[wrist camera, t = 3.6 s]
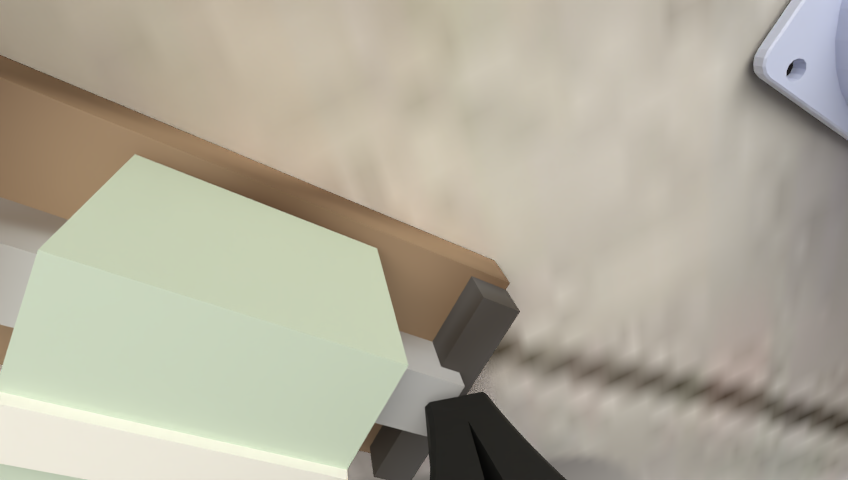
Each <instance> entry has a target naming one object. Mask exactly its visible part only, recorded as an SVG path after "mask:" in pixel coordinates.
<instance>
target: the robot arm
mask: <svg viewBox="0 0 848 480" xmlns="http://www.w3.org/2000/svg"><path fill="white" fill-rule="evenodd" d="M792 62H793V68H792V70H791V72H790V74H789V75H788V76H787V69H788V67H789V65H790V64H791V63H792ZM753 67H754V72H755V74H756V75H757V76H758V77H759V78H760V79H762V80H763V81H764V82H766V83H767V84H769V85H770V86H771V87H773V88H774V89H776V90H777V91H778V92H780V93H781V94H783V95H784V96H786V97H787V98H788V99H790V100H791V101H793V102H794V103H795V104H797V105H798V106H800V107H801V108H802V109H804V110H805V111H807V112H808V113H809V114H811V115H812V116H814V117H815V118H817V119H818V120H819V121H821V122H822V123H824V124H825V125H826V126H828V127H829V128H831V129H832V130H833V131H835V132H836V133H838V134H839V135H840V136H842V137H843V138H845V139H846V140H848V0H791V2H790V3H789V4H788V6H787V7H786V9H785V10H784V12H783V13H782V15H781V16H780V18H779V19H778V21H777V22H776V24H775V25H774V26H773V28H772V29H771V31H770V32H769V34H768V35H767V37H766V38H765V40H764V41H763V43H762V44H761V46H760V47H759V48H758V50H757V52H756V55H755V57H754V62H753ZM425 416H426V427H427V437H428V448H429V459H430V480H566V479H565V478H564V477H563V476H562V475H561V474H560V473H559V472H558V471H557V470H556V469H555V468H554V467H552V466H551V465H550V464H549V463H548V462H547V461H546V460H545V459H544V458H543V457H542V456H541V455H540V454H539V453H538V452H537V451H536V450H535V449H534V448H533V447H532V446H531V445H530V444H529V443H528V441H527V440H526V439H525V438H524V437H523V436H522V435H521V434H520V433H519V432H518V431H517V430H516V429H515V427H514V426H513V425H512V424H511V423H510V422H509V421H508V420H507V418H506V417H505V416H504V415H503V414H502V413H501V411H500V410H499V409H498V408H497V407H496V405H495V404H494V403H493V402H492V401H491V399H490V398H489V397H488V395H486V394H485V393H483V392H479V393H474V394H469V395H463V396H458V397H453V398H448V399H443V400H438V401H433V402H429V403H428V404H427V405H426V406H425Z"/></svg>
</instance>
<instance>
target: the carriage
mask: <svg viewBox="0 0 848 480" xmlns="http://www.w3.org/2000/svg"><path fill="white" fill-rule="evenodd" d="M407 367H408V362H407V358H406V354H405V350H404V347H403V343H402V339H401V336H400V332H399V328H398V324H397V321H396V317H395V313H394V309H393V306H392V302H391V298H390V295H389V291H388V287H387V283H386V280H385V276H384V272H383V269H382V265H381V261H380V257H379V254H378V250H377V248H375V247H372V246H370V245H367V244H365V243H362V242H359V241H357V240H354V239H352V238H349V237H347V236H344V235H342V234H339V233H336V232H334V231H331V230H329V229H326V228H324V227H321V226H318V225H316V224H313V223H311V222H308V221H306V220H303V219H300V218H298V217H295V216H293V215H290V214H288V213H285V212H282V211H280V210H277V209H275V208H272V207H270V206H267V205H264V204H262V203H259V202H257V201H254V200H252V199H249V198H246V197H244V196H241V195H239V194H236V193H234V192H231V191H229V190H226V189H223V188H221V187H218V186H216V185H213V184H211V183H208V182H205V181H203V180H200V179H198V178H195V177H193V176H190V175H187V174H185V173H182V172H180V171H177V170H175V169H172V168H169V167H167V166H164V165H162V164H159V163H157V162H154V161H151V160H149V159H146V158H144V157H141V156H139V155H136V154H135V155H134V156H133V157H132V158H131V159H129V160H128V161H127V162H126V163H125V164H124V165H123V166H122V167H121V168H120V169H119V170H118V171H117V172H116V173H115V174H114V175H113V176H112V177H111V178H110V179H109V180H108V181H107V182H106V183H105V184H104V185H103V186H102V187H101V188H100V189H99V190H98V191H97V192H96V193H95V194H94V195H93V196H92V197H91V198H90V199H89V200H88V201H87V202H86V203H85V204H84V205H83V206H82V207H81V208H80V209H79V210H78V211H77V212H76V213H75V214H74V215H73V216H72V217H71V218H70V219H69V220H68V221H67V222H66V223H65V224H64V225H63V226H62V227H61V228H60V229H59V230H58V231H57V232H55V233H54V234H53V235H52V236H51V237H50V238H49V239H48V240H47V241H46V242H45V243H44V244H43V245H42V246H41V247H40V248H39V249H38V251H37V254H36V258H35V261H34V264H33V267H32V271H31V274H30V277H29V280H28V284H27V287H26V290H25V294H24V297H23V300H22V303H21V307H20V310H19V313H18V316H17V320H16V323H15V326H14V329H13V333H12V336H11V339H10V343H9V346H8V349H7V352H6V356H5V359H4V362H3V365H2V369H1V372H0V480H348V475H347V469H348V467H349V466H350V464H351V462H352V460H353V459H354V457H355V455H356V454H357V452H358V450H359V449H360V447H361V445H362V444H363V442H364V440H365V438H366V437H367V435H368V433H369V432H370V430H371V428H372V427H373V425H374V423H375V421H376V420H377V418H378V416H379V415H380V413H381V411H382V410H383V408H384V406H385V405H386V403H387V401H388V399H389V398H390V396H391V394H392V393H393V391H394V389H395V388H396V386H397V384H398V382H399V381H400V379H401V377H402V376H403V374H404V372H405V371H406V369H407Z"/></svg>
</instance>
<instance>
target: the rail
mask: <svg viewBox="0 0 848 480" xmlns="http://www.w3.org/2000/svg"><path fill="white" fill-rule="evenodd" d="M135 154H136V155H139V156H141V157H144V158H146V159H149V160H151V161H154V162H157V163H159V164H162V165H164V166H167V167H169V168H172V169H175V170H177V171H180V172H182V173H185V174H187V175H190V176H193V177H195V178H198V179H200V180H203V181H205V182H208V183H211V184H213V185H216V186H218V187H221V188H223V189H226V190H229V191H231V192H234V193H236V194H239V195H241V196H244V197H246V198H249V199H252V200H254V201H257V202H259V203H262V204H264V205H267V206H270V207H272V208H275V209H277V210H280V211H282V212H285V213H288V214H290V215H293V216H295V217H298V218H300V219H303V220H306V221H308V222H311V223H313V224H316V225H318V226H321V227H324V228H326V229H329V230H331V231H334V232H336V233H339V234H342V235H344V236H347V237H349V238H352V239H354V240H357V241H359V242H362V243H365V244H367V245H370V246H372V247H375V248H377V250H378V254H379V257H380V261H381V265H382V269H383V272H384V276H385V280H386V283H387V287H388V291H389V295H390V298H391V302H392V306H393V309H394V313H395V317H396V321H397V324H398V328H399V332H400V336H401V339H402V343H403V347H404V350H405V354H406V358H407V362H408V367H407V369H406V371H405V372H404V374H403V376H402V377H401V379H400V381H399V382H398V384H397V386H396V388H395V389H394V391H393V393H392V394H391V396H390V398H389V399H388V401H387V403H386V405H385V406H384V408H383V410H382V411H381V413H380V415H379V416H378V418H377V420H376V421H375V423H374V425H373V427H372V428H371V430H370V432H369V433H368V435H367V437H366V438H365V440H364V442H363V444H362V445H361V447H360V449H359V451H364V452H368V453H371V460H372V467H373V474H374V477H377V478H382V479H386V480H412V478H413V477H414V475H415V474H416V472H417V471H418V469H419V468H420V466H421V464H422V463H423V461H424V460H425V458H426V457H427V455H428V454H429V448H428V437H427V427H426V416H425V406H426V405H427V404H428V403H429V402H433V401H438V400H443V399H448V398H453V397H458V396H463V395H466V394H467V393H468V391H469V390H470V388H471V387H472V385H473V384H474V382H475V380H476V379H477V377H478V376H479V374H480V373H481V371H482V370H483V368H484V366H485V365H486V363H487V362H488V360H489V359H490V357H491V356H492V354H493V352H494V351H495V349H496V348H497V346H498V345H499V343H500V342H501V340H502V338H503V337H504V335H505V334H506V332H507V331H508V329H509V328H510V326H511V324H512V323H513V321H514V320H515V318H516V317H517V315H518V314H519V312H520V311H519V309H518V308H517V306H516V305H515V303H514V302H513V300H512V299H511V297H510V295H509V294H508V292H507V291H506V288H507V287H508V285H509V283H510V282H509V281H508V280H507V278H506V277H505V275H504V274H503V272H502V271H501V269H500V268H499V266H498V265H497V263H496V262H495V261H494V260H492V259H489V258H487V257H484V256H482V255H480V254H477V253H475V252H472V251H470V250H468V249H465V248H463V247H460V246H458V245H456V244H453V243H451V242H448V241H446V240H444V239H441V238H439V237H436V236H434V235H432V234H429V233H427V232H424V231H422V230H419V229H417V228H415V227H412V226H410V225H407V224H405V223H403V222H400V221H398V220H395V219H393V218H391V217H388V216H386V215H383V214H381V213H379V212H376V211H374V210H371V209H369V208H367V207H364V206H362V205H359V204H357V203H355V202H352V201H350V200H347V199H345V198H343V197H340V196H338V195H335V194H333V193H331V192H328V191H326V190H323V189H321V188H318V187H316V186H314V185H311V184H309V183H306V182H304V181H302V180H299V179H297V178H294V177H292V176H290V175H287V174H285V173H282V172H280V171H278V170H275V169H273V168H270V167H268V166H266V165H263V164H261V163H258V162H256V161H254V160H251V159H249V158H246V157H244V156H242V155H239V154H237V153H234V152H232V151H230V150H227V149H225V148H222V147H220V146H217V145H215V144H213V143H210V142H208V141H205V140H203V139H201V138H198V137H196V136H193V135H191V134H189V133H186V132H184V131H181V130H179V129H177V128H174V127H172V126H169V125H167V124H165V123H162V122H160V121H157V120H155V119H153V118H150V117H148V116H145V115H143V114H141V113H138V112H136V111H133V110H131V109H129V108H126V107H124V106H121V105H119V104H116V103H114V102H112V101H109V100H107V99H104V98H102V97H100V96H97V95H95V94H92V93H90V92H88V91H85V90H83V89H80V88H78V87H76V86H73V85H71V84H68V83H66V82H64V81H61V80H59V79H56V78H54V77H52V76H49V75H47V74H44V73H42V72H40V71H37V70H35V69H32V68H30V67H28V66H25V65H23V64H20V63H18V62H15V61H13V60H11V59H8V58H6V57H3V56H1V55H0V364H1V365H3V362H4V359H5V356H6V352H7V349H8V346H9V343H10V339H11V336H12V333H13V329H14V326H15V323H16V320H17V316H18V313H19V310H20V307H21V303H22V300H23V297H24V294H25V290H26V287H27V284H28V280H29V277H30V274H31V271H32V267H33V264H34V261H35V258H36V254H37V251H38V249H39V248H40V247H41V246H42V245H43V244H44V243H45V242H46V241H47V240H48V239H49V238H50V237H51V236H52V235H53V234H54V233H55V232H57V231H58V230H59V229H60V228H61V227H62V226H63V225H64V224H65V223H66V222H67V221H68V220H69V219H70V218H71V217H72V216H73V215H74V214H75V213H76V212H77V211H78V210H79V209H80V208H81V207H82V206H83V205H84V204H85V203H86V202H87V201H88V200H89V199H90V198H91V197H92V196H93V195H94V194H95V193H96V192H97V191H98V190H99V189H100V188H101V187H102V186H103V185H104V184H105V183H106V182H107V181H108V180H109V179H110V178H111V177H112V176H113V175H114V174H115V173H116V172H117V171H118V170H119V169H120V168H121V167H122V166H123V165H124V164H125V163H126V162H127V161H128V160H129V159H131V158H132V157H133V156H134V155H135Z"/></svg>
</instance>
